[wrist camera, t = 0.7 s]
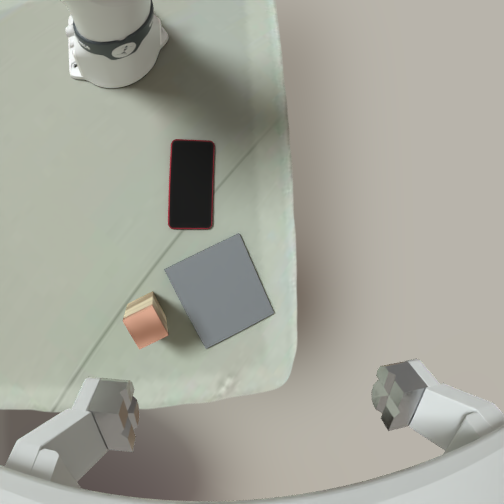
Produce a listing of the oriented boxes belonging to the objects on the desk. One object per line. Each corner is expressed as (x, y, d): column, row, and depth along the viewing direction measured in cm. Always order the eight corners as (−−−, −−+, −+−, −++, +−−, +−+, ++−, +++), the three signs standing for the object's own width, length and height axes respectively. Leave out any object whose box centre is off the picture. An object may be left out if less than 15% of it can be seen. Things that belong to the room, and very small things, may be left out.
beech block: (127, 303, 52) (122, 320, 43) (152, 291, 53) (152, 306, 44) (141, 328, 53) (139, 349, 44) (166, 316, 54) (168, 335, 45)
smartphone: (215, 140, 52) (212, 229, 54) (214, 142, 53) (211, 228, 55) (171, 138, 50) (168, 228, 52) (171, 140, 51) (168, 228, 53)
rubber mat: (164, 269, 53) (164, 269, 52) (238, 233, 56) (239, 233, 55) (205, 347, 56) (205, 348, 56) (272, 312, 59) (274, 313, 59)
